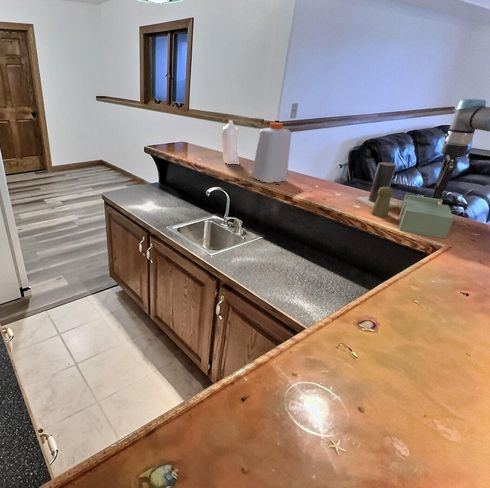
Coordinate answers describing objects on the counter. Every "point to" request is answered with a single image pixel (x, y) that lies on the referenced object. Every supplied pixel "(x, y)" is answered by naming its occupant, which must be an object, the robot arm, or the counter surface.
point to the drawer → (422, 199)
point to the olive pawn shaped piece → (382, 202)
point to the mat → (371, 204)
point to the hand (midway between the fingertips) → (433, 203)
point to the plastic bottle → (272, 154)
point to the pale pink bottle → (230, 143)
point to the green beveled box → (425, 218)
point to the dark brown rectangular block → (382, 179)
